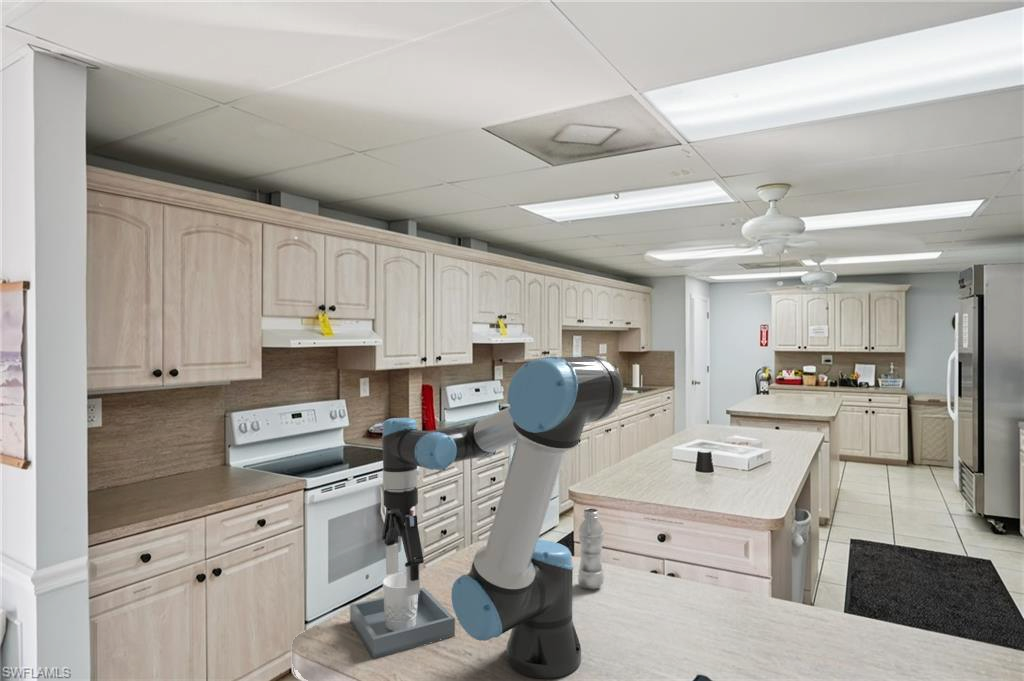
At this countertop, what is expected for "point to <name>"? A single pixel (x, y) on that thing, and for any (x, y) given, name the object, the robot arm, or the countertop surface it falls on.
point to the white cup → (398, 603)
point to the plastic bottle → (591, 551)
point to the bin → (383, 642)
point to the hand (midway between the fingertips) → (402, 583)
